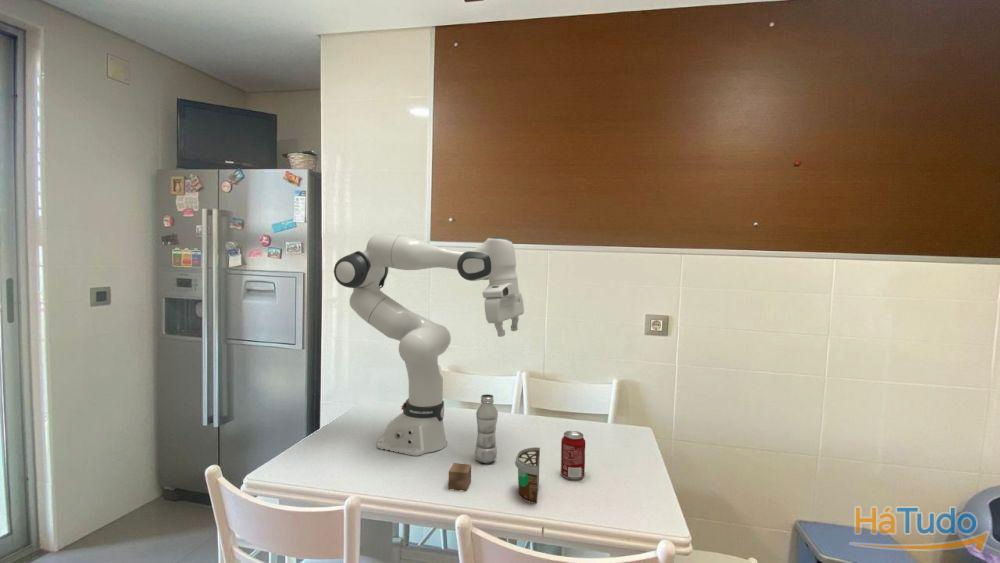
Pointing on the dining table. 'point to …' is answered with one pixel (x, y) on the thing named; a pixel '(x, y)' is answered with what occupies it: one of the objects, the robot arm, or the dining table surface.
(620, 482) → the dining table surface
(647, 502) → the dining table surface
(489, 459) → the plastic bottle
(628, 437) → the dining table surface
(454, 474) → the walnut block
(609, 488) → the dining table surface
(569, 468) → the soda can
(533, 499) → the food container
